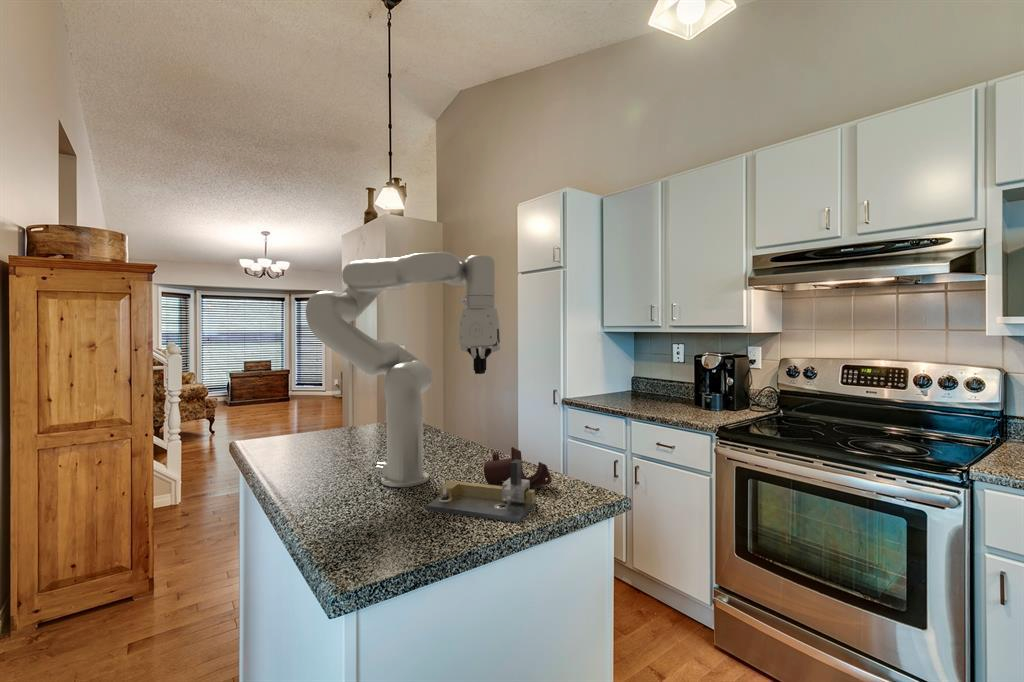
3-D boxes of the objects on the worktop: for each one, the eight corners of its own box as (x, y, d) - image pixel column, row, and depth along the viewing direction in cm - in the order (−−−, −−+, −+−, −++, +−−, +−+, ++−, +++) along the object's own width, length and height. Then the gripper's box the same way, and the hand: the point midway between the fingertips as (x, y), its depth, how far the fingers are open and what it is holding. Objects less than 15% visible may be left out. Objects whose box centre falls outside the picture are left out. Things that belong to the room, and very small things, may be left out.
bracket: (548, 482, 117) (544, 442, 121) (484, 490, 121) (482, 451, 125) (554, 484, 122) (549, 446, 126) (493, 492, 126) (490, 455, 131)
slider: (497, 505, 104) (497, 466, 104) (509, 493, 112) (509, 457, 112) (518, 508, 103) (518, 468, 103) (529, 496, 111) (529, 459, 110)
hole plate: (426, 510, 105) (426, 504, 105) (450, 493, 117) (450, 488, 117) (520, 523, 98) (520, 517, 98) (536, 503, 110) (536, 498, 110)
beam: (436, 498, 110) (436, 488, 110) (448, 490, 116) (448, 480, 116) (526, 510, 102) (526, 499, 102) (534, 500, 109) (534, 490, 109)
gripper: (447, 303, 122) (447, 373, 122) (502, 301, 117) (501, 375, 118) (460, 304, 129) (460, 371, 130) (511, 303, 125) (511, 373, 125)
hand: (479, 373), depth 124 cm, fingers closed
